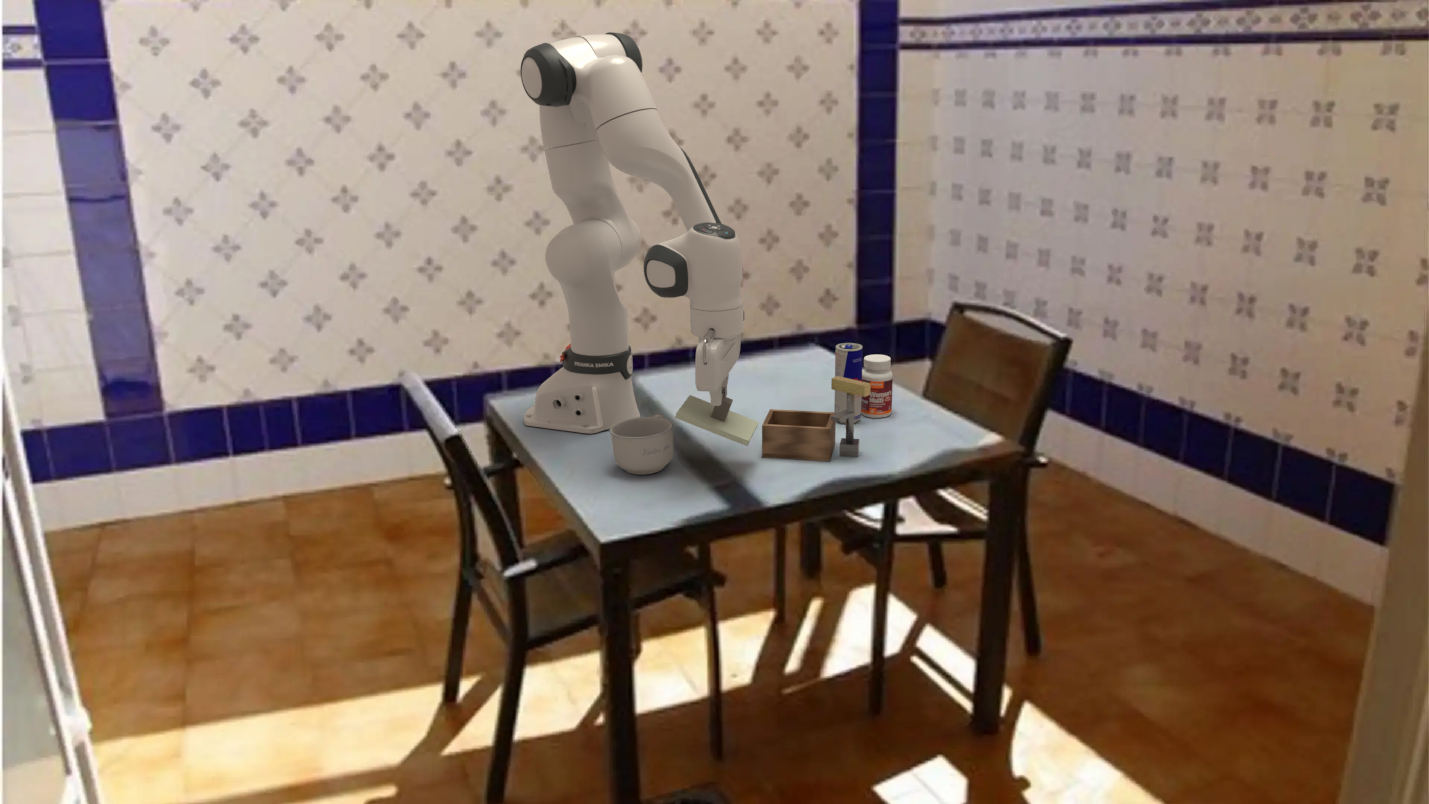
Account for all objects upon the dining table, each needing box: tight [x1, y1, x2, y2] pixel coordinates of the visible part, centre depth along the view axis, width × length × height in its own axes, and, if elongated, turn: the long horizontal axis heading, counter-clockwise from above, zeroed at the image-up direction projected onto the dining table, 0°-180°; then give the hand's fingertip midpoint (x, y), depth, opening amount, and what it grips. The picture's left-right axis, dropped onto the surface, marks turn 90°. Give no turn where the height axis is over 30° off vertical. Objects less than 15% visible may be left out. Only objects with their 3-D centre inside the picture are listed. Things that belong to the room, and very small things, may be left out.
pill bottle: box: [861, 354, 894, 419], centre depth 230 cm, size 6×6×11 cm
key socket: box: [839, 437, 860, 458], centre depth 211 cm, size 3×3×2 cm
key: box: [830, 376, 871, 442], centre depth 208 cm, size 5×7×11 cm
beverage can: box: [833, 342, 864, 425], centre depth 226 cm, size 5×5×15 cm
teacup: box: [609, 413, 675, 476], centre depth 206 cm, size 14×11×8 cm
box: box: [761, 408, 837, 462], centre depth 212 cm, size 12×9×6 cm
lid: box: [674, 394, 759, 447], centre depth 202 cm, size 13×10×5 cm
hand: (719, 401), depth 202 cm, fingers closed on lid, 2 cm apart
